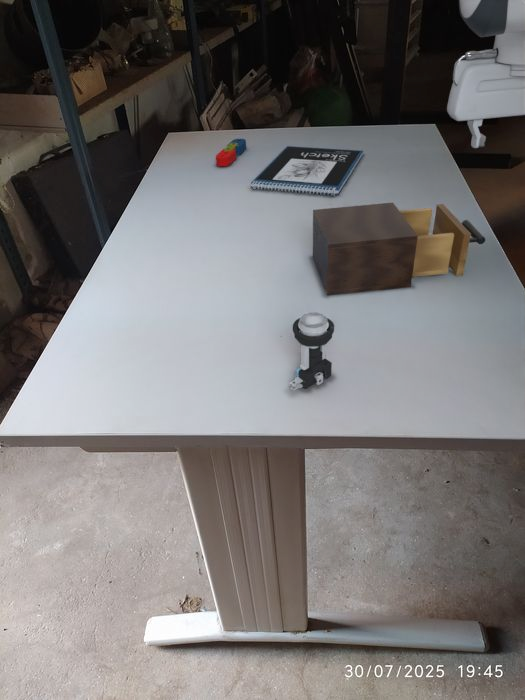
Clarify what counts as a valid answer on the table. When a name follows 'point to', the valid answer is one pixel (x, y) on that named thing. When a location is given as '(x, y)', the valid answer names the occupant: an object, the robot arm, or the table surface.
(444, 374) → the table surface
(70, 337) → the table surface
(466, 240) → the wooden pull-out drawer
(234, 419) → the table surface
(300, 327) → the push button
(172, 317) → the table surface
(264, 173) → the sketchbook
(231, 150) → the multicolored plastic bar
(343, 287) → the wooden drawer box
